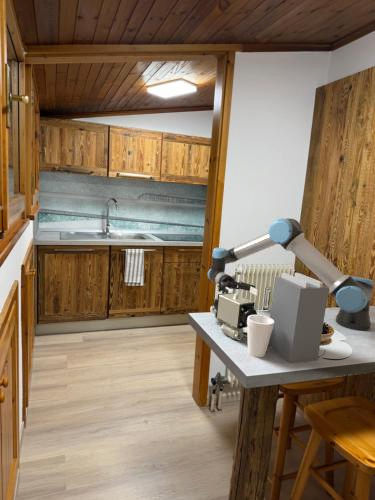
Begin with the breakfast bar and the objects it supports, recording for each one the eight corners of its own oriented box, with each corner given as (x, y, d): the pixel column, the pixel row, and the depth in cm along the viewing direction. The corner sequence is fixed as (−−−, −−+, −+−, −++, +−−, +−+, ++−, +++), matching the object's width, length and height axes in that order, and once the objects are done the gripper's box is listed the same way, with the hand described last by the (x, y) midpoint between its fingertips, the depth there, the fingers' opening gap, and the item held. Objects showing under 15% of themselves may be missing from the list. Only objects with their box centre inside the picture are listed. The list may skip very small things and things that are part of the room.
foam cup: (238, 349, 129) (242, 316, 127) (257, 345, 133) (261, 313, 131) (255, 361, 121) (259, 325, 118) (275, 356, 125) (279, 322, 123)
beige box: (205, 304, 154) (222, 302, 160) (203, 320, 155) (220, 317, 161) (218, 311, 146) (236, 308, 152) (217, 327, 148) (234, 324, 153)
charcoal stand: (291, 341, 140) (301, 272, 135) (317, 359, 126) (329, 282, 121) (266, 344, 135) (275, 272, 131) (290, 362, 122) (301, 283, 117)
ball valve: (256, 343, 136) (262, 299, 133) (240, 347, 131) (246, 302, 128) (225, 326, 150) (230, 286, 147) (210, 329, 145) (214, 288, 142)
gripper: (245, 287, 188) (266, 300, 168) (202, 288, 179) (220, 302, 159) (246, 274, 186) (268, 285, 167) (203, 274, 177) (222, 286, 158)
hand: (245, 293), depth 163 cm, fingers open, 13 cm apart
